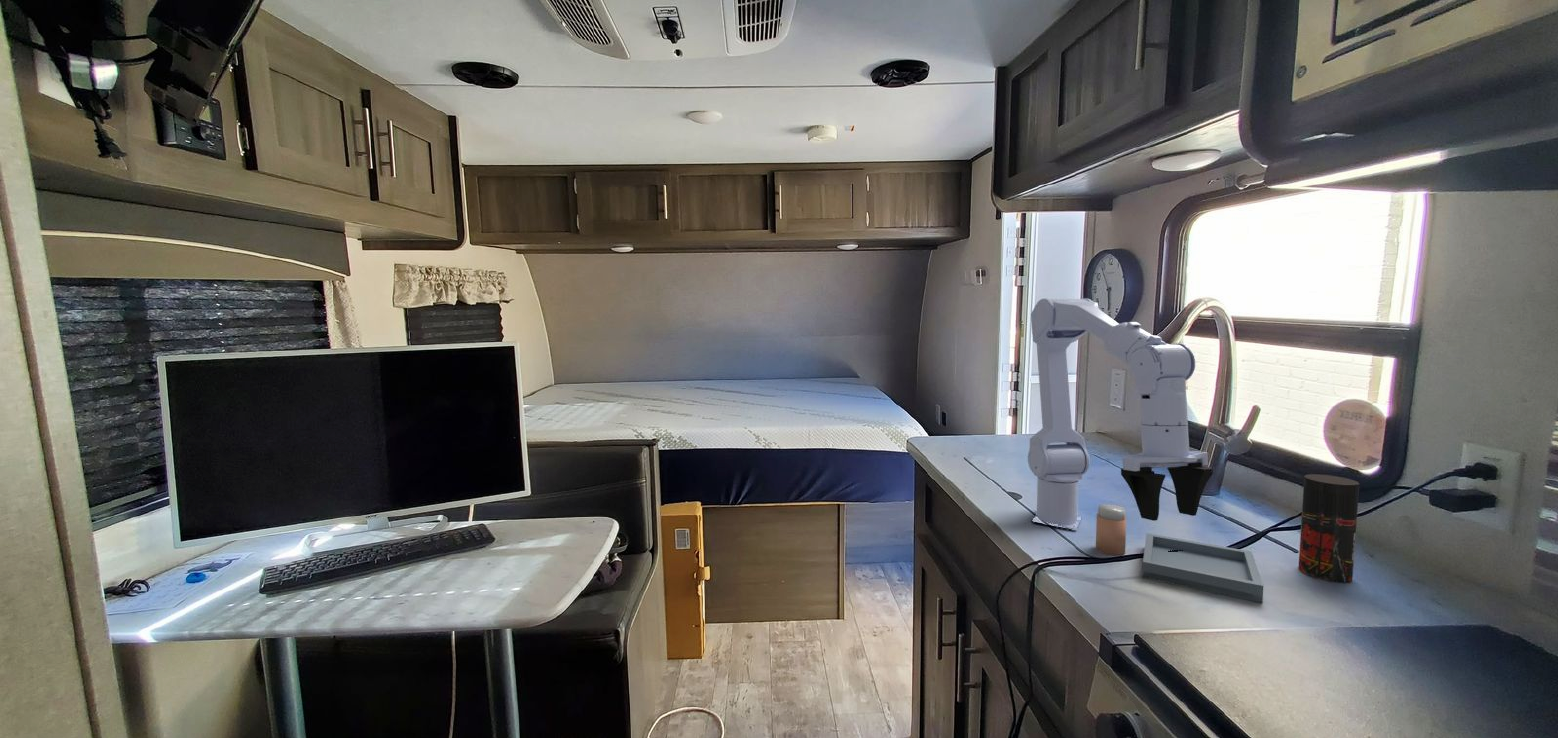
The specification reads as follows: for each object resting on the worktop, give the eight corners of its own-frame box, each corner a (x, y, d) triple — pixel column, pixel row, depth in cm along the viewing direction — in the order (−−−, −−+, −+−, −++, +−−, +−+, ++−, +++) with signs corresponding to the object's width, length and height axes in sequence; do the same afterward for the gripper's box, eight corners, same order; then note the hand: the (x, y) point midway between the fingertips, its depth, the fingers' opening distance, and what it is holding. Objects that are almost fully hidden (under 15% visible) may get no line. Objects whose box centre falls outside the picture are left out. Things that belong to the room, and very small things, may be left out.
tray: (1146, 546, 96) (1146, 533, 96) (1250, 566, 88) (1251, 551, 87) (1142, 577, 84) (1143, 561, 84) (1262, 603, 76) (1263, 585, 76)
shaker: (1097, 543, 98) (1098, 502, 97) (1126, 548, 95) (1127, 507, 95) (1094, 551, 94) (1095, 509, 94) (1124, 557, 92) (1125, 514, 91)
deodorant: (1293, 562, 89) (1299, 472, 88) (1344, 570, 86) (1350, 477, 85) (1304, 577, 84) (1311, 481, 83) (1359, 586, 81) (1366, 487, 79)
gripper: (1152, 428, 75) (1157, 527, 75) (1227, 424, 80) (1232, 517, 79) (1108, 425, 82) (1112, 516, 81) (1179, 421, 86) (1184, 508, 86)
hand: (1168, 516), depth 81 cm, fingers open, 7 cm apart
